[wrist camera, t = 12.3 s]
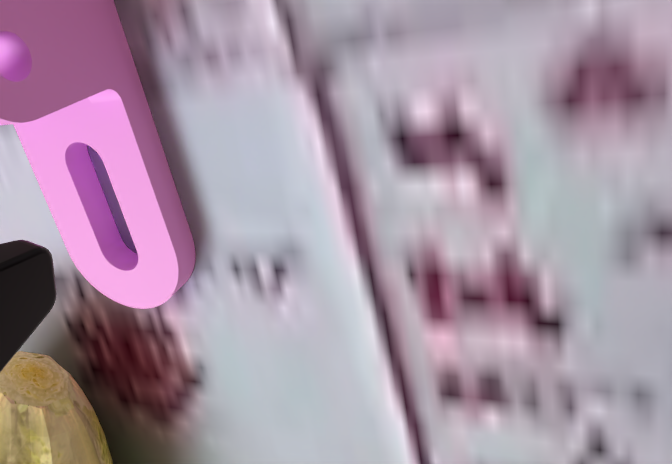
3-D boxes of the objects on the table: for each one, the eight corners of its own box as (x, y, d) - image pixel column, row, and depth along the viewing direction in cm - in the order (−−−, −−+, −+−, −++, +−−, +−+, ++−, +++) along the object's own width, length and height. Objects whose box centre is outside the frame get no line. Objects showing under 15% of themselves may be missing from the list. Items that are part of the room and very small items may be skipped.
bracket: (-9, -6, 24) (-204, 32, 18) (104, -35, 22) (-77, -1, 16) (111, 289, 29) (-9, 390, 24) (213, 292, 27) (106, 404, 21)
